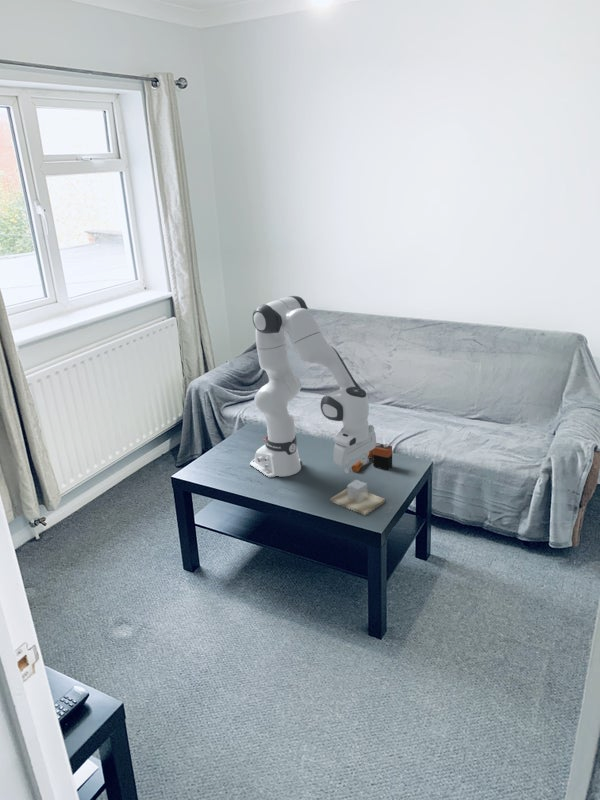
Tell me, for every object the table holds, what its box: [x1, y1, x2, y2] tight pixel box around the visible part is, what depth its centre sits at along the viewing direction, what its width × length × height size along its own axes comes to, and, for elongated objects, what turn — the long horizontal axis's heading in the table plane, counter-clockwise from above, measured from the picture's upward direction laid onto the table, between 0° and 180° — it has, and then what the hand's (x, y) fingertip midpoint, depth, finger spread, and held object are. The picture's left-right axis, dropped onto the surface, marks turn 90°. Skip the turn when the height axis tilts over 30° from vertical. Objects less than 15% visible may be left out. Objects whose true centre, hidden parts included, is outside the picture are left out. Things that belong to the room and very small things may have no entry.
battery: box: [372, 442, 393, 471], centre depth 249 cm, size 4×7×10 cm, turn 57°
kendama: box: [350, 442, 378, 473], centre depth 255 cm, size 6×6×20 cm
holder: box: [329, 487, 386, 516], centre depth 225 cm, size 16×12×6 cm
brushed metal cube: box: [346, 479, 369, 504], centre depth 225 cm, size 5×5×6 cm
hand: (355, 467), depth 221 cm, fingers open, 8 cm apart
